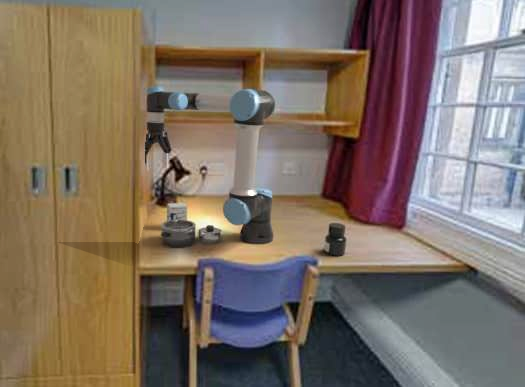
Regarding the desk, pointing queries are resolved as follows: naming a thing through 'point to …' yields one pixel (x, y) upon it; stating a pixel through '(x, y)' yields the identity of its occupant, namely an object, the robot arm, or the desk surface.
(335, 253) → the ink bottle
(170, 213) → the ink box
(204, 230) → the lid
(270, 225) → the robot arm
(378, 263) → the desk surface
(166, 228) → the pot
